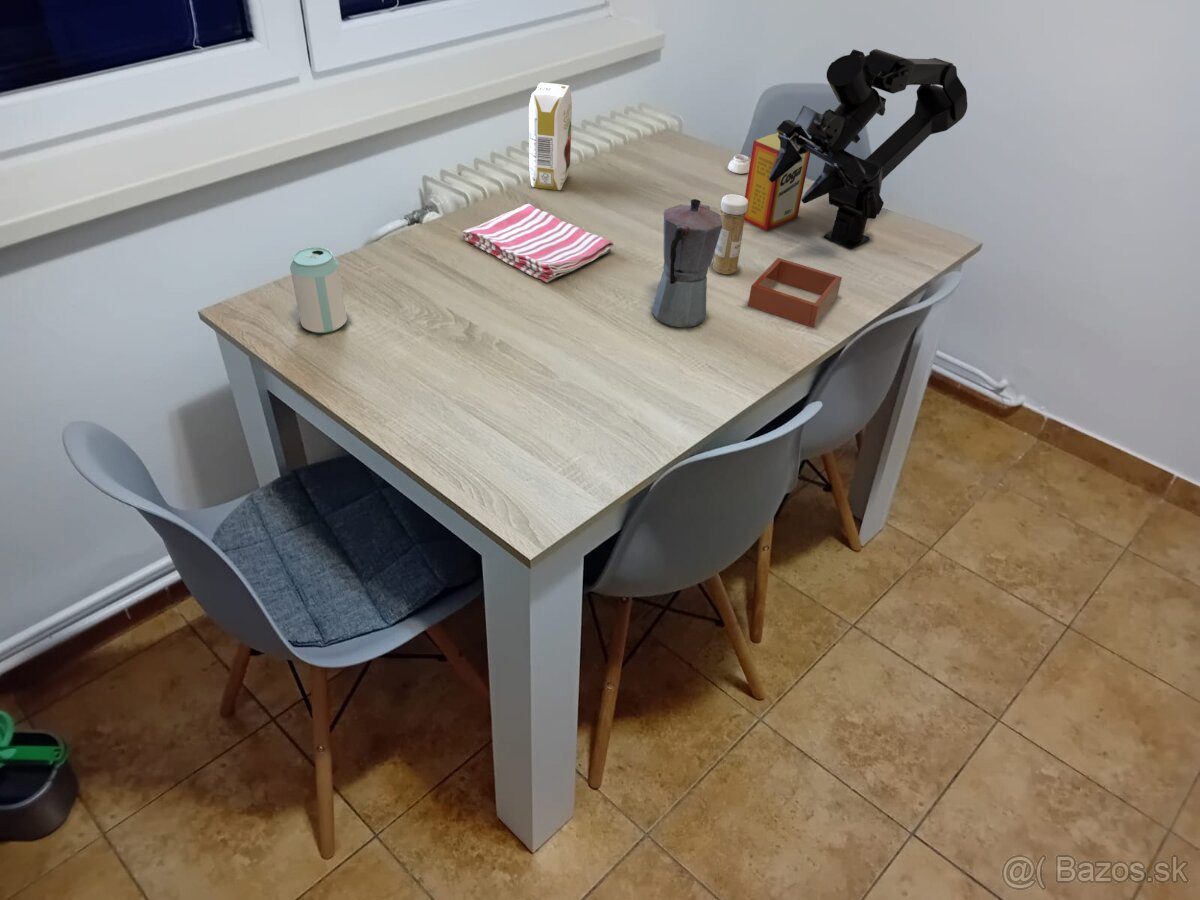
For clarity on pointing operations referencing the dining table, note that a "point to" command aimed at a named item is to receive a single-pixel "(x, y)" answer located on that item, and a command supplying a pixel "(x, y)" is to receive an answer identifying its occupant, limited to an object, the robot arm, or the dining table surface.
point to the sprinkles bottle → (730, 233)
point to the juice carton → (550, 135)
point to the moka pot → (686, 263)
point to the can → (318, 290)
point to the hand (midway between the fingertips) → (786, 191)
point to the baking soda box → (773, 186)
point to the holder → (793, 305)
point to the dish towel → (537, 242)
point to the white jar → (739, 164)
